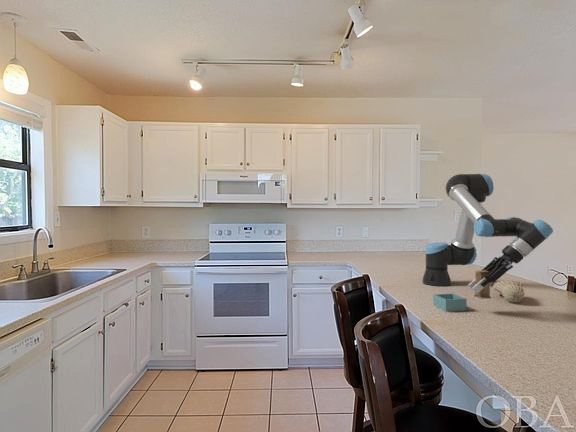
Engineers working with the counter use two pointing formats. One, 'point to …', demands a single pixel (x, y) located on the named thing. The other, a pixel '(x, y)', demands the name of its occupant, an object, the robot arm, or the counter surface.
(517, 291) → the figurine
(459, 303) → the teal storage bin
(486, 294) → the wooden post on plate
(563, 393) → the counter surface
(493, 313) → the counter surface
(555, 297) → the counter surface
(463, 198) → the robot arm
